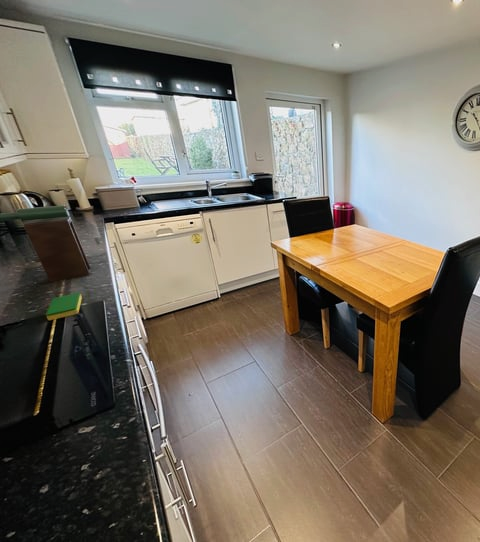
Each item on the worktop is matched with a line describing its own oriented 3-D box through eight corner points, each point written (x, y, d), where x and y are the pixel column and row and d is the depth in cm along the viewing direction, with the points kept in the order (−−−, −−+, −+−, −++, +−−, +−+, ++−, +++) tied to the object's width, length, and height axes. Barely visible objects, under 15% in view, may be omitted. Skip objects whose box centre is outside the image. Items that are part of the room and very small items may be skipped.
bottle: (-12, 226, 101) (-19, 212, 99) (-8, 223, 105) (-15, 210, 103) (69, 218, 114) (64, 206, 112) (70, 216, 117) (65, 204, 115)
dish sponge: (48, 321, 90) (45, 315, 89) (55, 303, 100) (52, 297, 99) (78, 314, 94) (75, 308, 93) (82, 298, 104) (79, 292, 103)
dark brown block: (50, 282, 114) (21, 222, 104) (53, 274, 121) (27, 217, 111) (90, 275, 121) (66, 218, 111) (90, 268, 128) (69, 213, 118)
